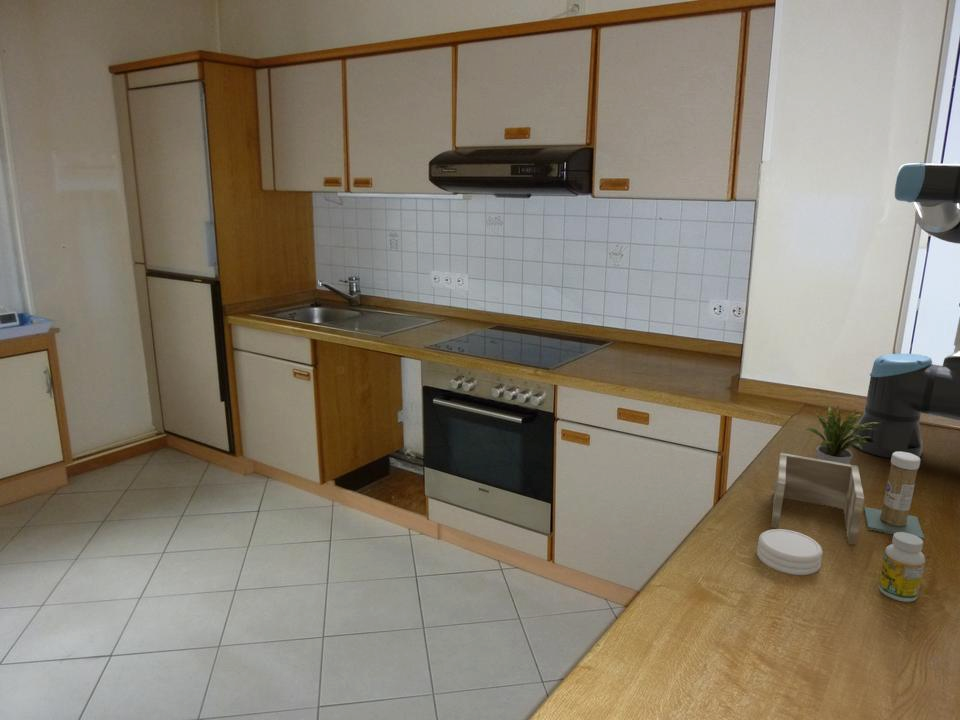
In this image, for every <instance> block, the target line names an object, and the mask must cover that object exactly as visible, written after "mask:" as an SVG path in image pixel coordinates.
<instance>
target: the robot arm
mask: <svg viewBox="0 0 960 720" xmlns="http://www.w3.org/2000/svg"><path fill="white" fill-rule="evenodd" d="M894 187H895V188H894V198H895V199H896V201H900V202H907V203H914V206H915V215H914V216H915V220H916V222H917V224H918V226H919V228H920V229H922V230H923V231H924V232H925V233H927V234H928V235H930V236H933V237H934V238H937V239H939V240H942V241H945V242H948V243H953V244H957V245H959V244H960V164H959V163H931V162H930V163H925V162H924V163H923V162H916V163H905V164H902V165H901V166H900V167H899V169H898V172H897V175H896V180H895V186H894ZM958 307H960V302H959V304H958ZM957 323H958V324H957V328H956V332H955V337H954V343H953V345H954V348H953V349H954V350H953V353H952V354H951V353H950V354H949V355H947V356H946V357H944V360H943V363H942V365H939V364H934V363H933V360H932V358H931V357H930V356H927V355H921V354H916V353H915V354H914V353H889V354H883V355H880V356H878V357H877V358H875V360H874V361H873V364H872V365H873V366H872V369H871V372H870V374H869V376H870V379H869V384H868V390H867V396H866V401H865V407H864V410H863V411H864V412H863V414H862V415H861V416H860V419H859V420H858V422H857V424H856V425H857V426H859V425H862V424H864V423H870V422H880V423H872V424H868V425H869V426H868V427H864V428H872V429H864V430H858V431H857V432H856V433H854V434H853V435H859V436H861V437H865V436H867V437H866V438H864V439H863V440H865V441H866V442H856V443H858V444H860V445H861V446H862V449H863V451H862V449H861V448H860V447H858V446H856V445H853V447H855V448H857V450H861V451H862V452H866V453H869V454H871V455H876V456H878V457H883V458H887V459H891V458H892V454H893V453H894V452H907V453H911V454H914V455H916V456H918V457H919V458H920V457H921V456H922V453H923V447H924V444H923V438H922V432H921V427H920V420H921V415H922V414H926V415H930V416H935V417H940V418H944V419H950V420H955V421H960V317H959V319H958V322H957ZM856 425H855V427H857V426H856ZM864 426H866V425H864ZM870 426H873V427H870ZM859 428H860V427H859ZM858 438H860V437H853V438H850V440H853V439H858Z"/></svg>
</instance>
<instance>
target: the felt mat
mask: <svg viewBox="0 0 960 720" xmlns="http://www.w3.org/2000/svg"><path fill="white" fill-rule="evenodd" d="M863 511H865V512H864V516H865V517H866V518H865V517H864V518H865V523H866V522H867V523H866V528H867V527H868V528H867V530H868V529H871V530H870V531H872V530H874V531H873V532H877V531H879V533H882V532H884V533H883V534H889V535H892V534H893V535H894V533H896V532H905V533H910V534H913V535H915V536H917V537H919V538H921V539H922V540H923V542H924V541H925V536H924V533H923V531H922V527H921V524H920V521H919V519H918V516H916V515H915V516H914V515H910V514H908V517H907V524H906V525H905V526H894V525H890V524H887V523H885V522H883V521H882V520H881V519H880V515H881V512H882V509H877V508H873V507H867V506H863Z"/></svg>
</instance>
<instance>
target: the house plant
mask: <svg viewBox="0 0 960 720" xmlns="http://www.w3.org/2000/svg"><path fill="white" fill-rule="evenodd" d="M836 406H837V408H836V415H835V413H834V411H833V409H832V407H831V406H830V405H828V407H827V408H828V409H827V416H828V417H827V421H826V420H825V418H824V417H823V416H821V415H820V414H818V413H817V412H815V411H814V414H815V415H816V417H817V421H818V422H819V424H820V425H821V426H822V428H823V434H824V435H823V434H822V432H820V431H819V430H817V429H815V428H811V427H810V428H806V429H805V431H809V432H812V433H814V434H816V435H817V436H819V437H820V438H821V439H822V442H821V443H820V444H821V445H818V446H817V447H816V459H820V460H826V461H832V462H838V463H844V464H849V465H851V461H852V458H853V456H854V455H853V453H852V451H850V450H849V449H850V448H851V447H854V445H856V446H858V447H860V448H861V449H862V446H861V445H860V444H858V443H856V442H866V441H865V440H863V439H864V438H866V437H867V436H865V437H861V436H859V435H853V434H854V433H856V432H857V431H858V430H864V429H872V428H864V427H868V426H869V425H868V424H872V423H880V422H870V423H864V424H862V425H859V426H857V424H856V423H857V421H858V419H859V417H860V418H861V417H862V416H863V414H864V412H862V413H861V412H860V413H858V414H856V415H855V413H856V410H857V408H855V409H853V411H851V413H850V414H849V415H848V416H847V417H846V418H845V419H844V420H843V422H842V423H841V420H842V419H841V418H842V417H841V413H840V407H839V405H836ZM855 424H856V425H855ZM864 425H866V426H864ZM856 426H857V427H856ZM859 427H860V428H859ZM870 427H873V426H870ZM849 434H850V435H849ZM824 436H825V437H824ZM853 437H860V438H858V439H853V440H851V438H853ZM861 451H862V452H864V451H863V449H862V450H861Z"/></svg>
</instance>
